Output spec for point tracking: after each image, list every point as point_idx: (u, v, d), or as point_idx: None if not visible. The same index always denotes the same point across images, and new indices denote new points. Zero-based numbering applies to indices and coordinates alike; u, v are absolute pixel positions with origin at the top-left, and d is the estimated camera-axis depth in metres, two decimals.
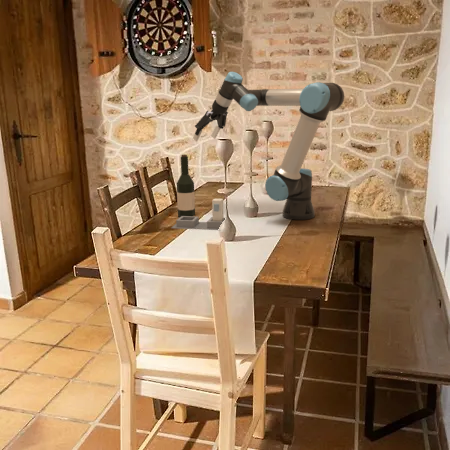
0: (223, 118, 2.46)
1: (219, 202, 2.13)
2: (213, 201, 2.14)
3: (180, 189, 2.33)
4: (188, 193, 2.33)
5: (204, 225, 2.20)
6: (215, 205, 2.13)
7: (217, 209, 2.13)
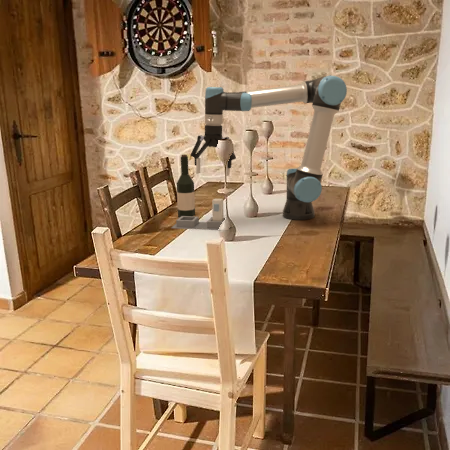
0: (198, 146, 2.15)
1: (219, 202, 2.13)
2: (213, 201, 2.14)
3: (180, 189, 2.33)
4: (188, 193, 2.33)
5: (204, 225, 2.20)
6: (215, 205, 2.13)
7: (217, 209, 2.13)
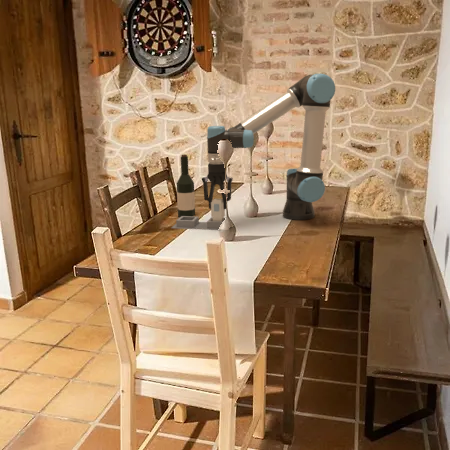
0: (207, 187, 2.15)
1: (219, 202, 2.13)
2: (213, 201, 2.14)
3: (180, 189, 2.33)
4: (188, 193, 2.33)
5: (204, 225, 2.20)
6: (215, 205, 2.13)
7: (217, 209, 2.13)
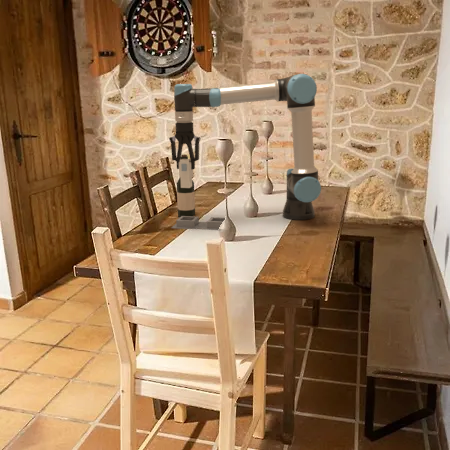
0: (174, 147, 2.13)
1: (187, 162, 2.12)
2: (181, 161, 2.12)
3: (180, 189, 2.33)
4: (188, 193, 2.33)
5: (204, 225, 2.20)
6: (183, 165, 2.11)
7: (185, 169, 2.12)
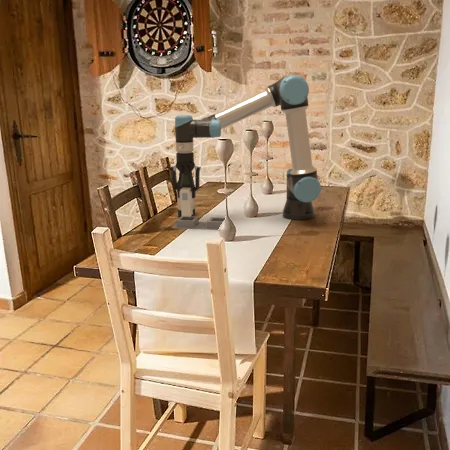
0: (175, 176, 2.17)
1: (187, 191, 2.15)
2: (181, 190, 2.15)
3: None
4: None
5: (204, 225, 2.20)
6: (183, 194, 2.15)
7: (185, 198, 2.15)
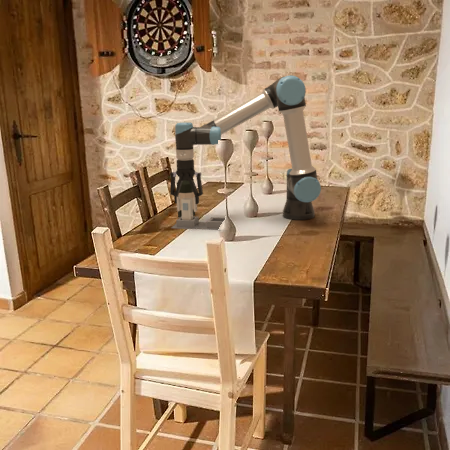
0: (174, 182, 2.18)
1: (188, 201, 2.16)
2: (182, 200, 2.17)
3: (180, 189, 2.33)
4: (188, 193, 2.33)
5: (204, 225, 2.20)
6: (184, 204, 2.16)
7: (186, 208, 2.16)
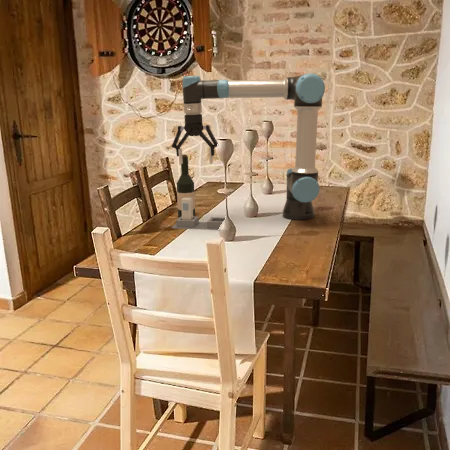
0: (179, 136, 2.15)
1: (188, 201, 2.16)
2: (182, 200, 2.17)
3: (180, 189, 2.33)
4: (188, 193, 2.33)
5: (204, 225, 2.20)
6: (184, 204, 2.16)
7: (186, 208, 2.16)
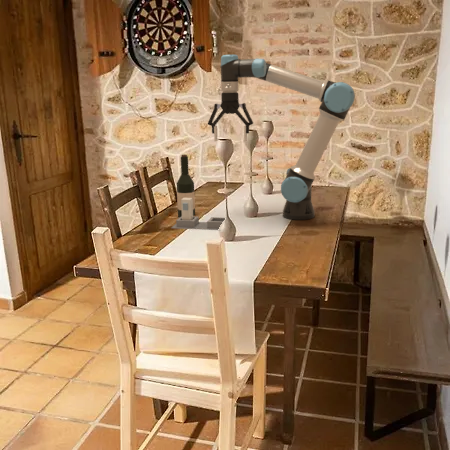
0: (215, 114, 2.21)
1: (188, 201, 2.16)
2: (182, 200, 2.17)
3: (180, 189, 2.33)
4: (188, 193, 2.33)
5: (204, 225, 2.20)
6: (184, 204, 2.16)
7: (186, 208, 2.16)
